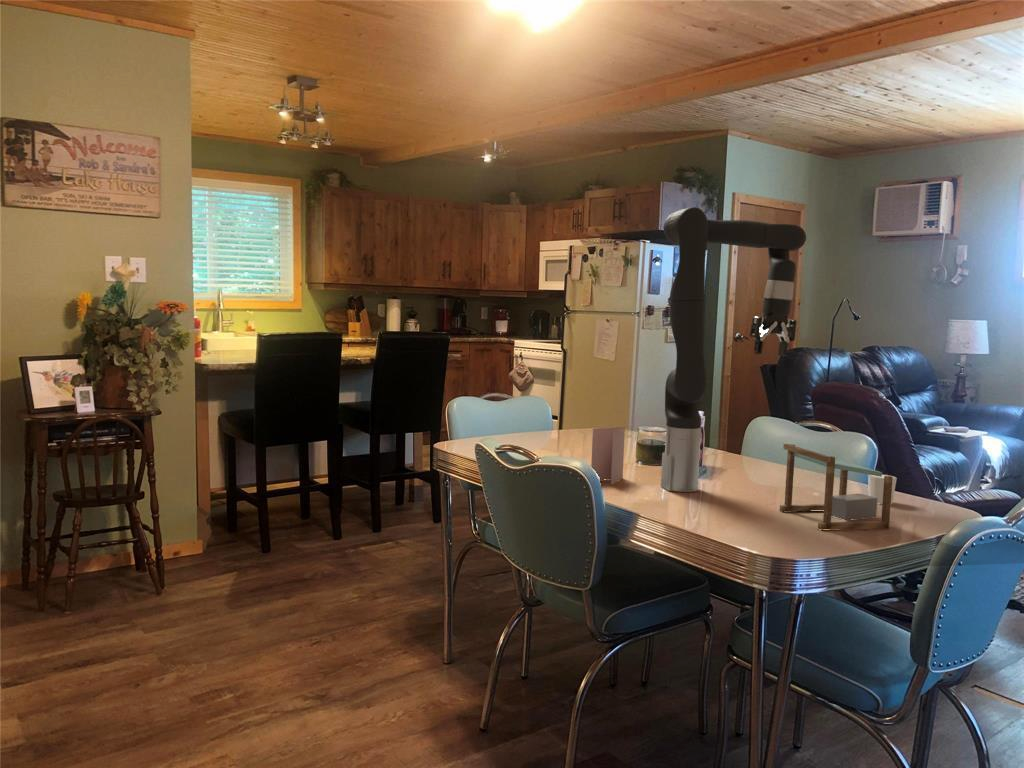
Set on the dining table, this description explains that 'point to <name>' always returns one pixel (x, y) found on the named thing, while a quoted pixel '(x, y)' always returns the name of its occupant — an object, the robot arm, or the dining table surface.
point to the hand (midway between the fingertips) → (769, 354)
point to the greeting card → (608, 453)
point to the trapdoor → (843, 465)
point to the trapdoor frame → (829, 493)
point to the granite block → (854, 506)
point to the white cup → (879, 487)
